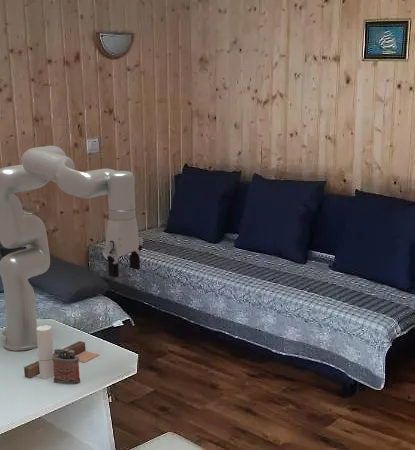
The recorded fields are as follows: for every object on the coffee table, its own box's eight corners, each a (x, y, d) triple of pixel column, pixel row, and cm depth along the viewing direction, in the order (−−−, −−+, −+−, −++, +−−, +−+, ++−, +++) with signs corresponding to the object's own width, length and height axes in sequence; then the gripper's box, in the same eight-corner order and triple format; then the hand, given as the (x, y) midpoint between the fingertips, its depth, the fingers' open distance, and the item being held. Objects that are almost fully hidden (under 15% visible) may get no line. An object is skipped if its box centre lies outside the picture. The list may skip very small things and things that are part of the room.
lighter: (82, 380, 199) (80, 348, 197) (77, 385, 195) (75, 352, 193) (56, 378, 200) (54, 346, 198) (51, 382, 197) (49, 350, 195)
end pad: (70, 359, 214) (70, 358, 214) (85, 351, 219) (85, 350, 219) (84, 363, 210) (84, 362, 210) (99, 355, 216) (99, 354, 216)
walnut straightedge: (24, 376, 201) (24, 367, 201) (80, 349, 221) (79, 340, 221) (30, 378, 200) (29, 369, 199) (85, 350, 220) (85, 342, 219)
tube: (50, 379, 199) (47, 331, 196) (37, 378, 200) (33, 330, 197) (56, 373, 204) (53, 325, 200) (43, 372, 204) (40, 325, 201)
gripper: (130, 208, 202) (132, 264, 206) (91, 218, 188) (94, 278, 191) (150, 210, 198) (152, 267, 202) (112, 221, 184) (115, 282, 187)
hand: (124, 272), depth 197 cm, fingers open, 9 cm apart
